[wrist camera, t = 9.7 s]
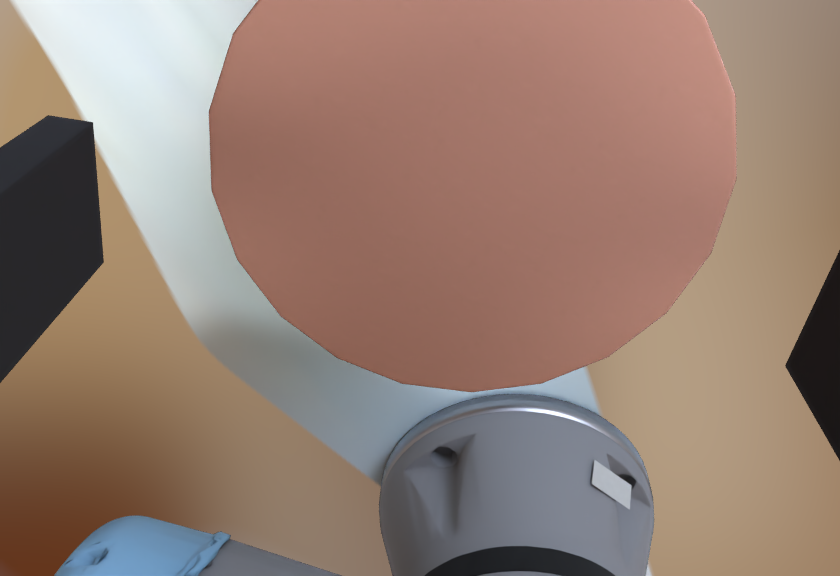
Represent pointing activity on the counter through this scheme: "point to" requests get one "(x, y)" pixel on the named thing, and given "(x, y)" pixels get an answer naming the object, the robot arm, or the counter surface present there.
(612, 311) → the coffee jar
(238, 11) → the counter surface
